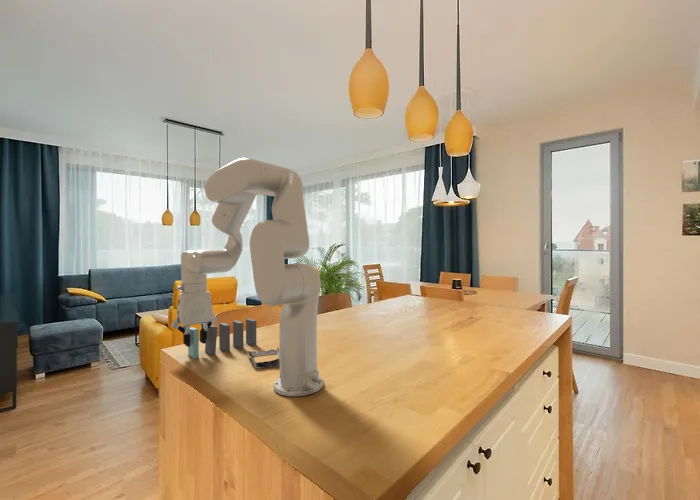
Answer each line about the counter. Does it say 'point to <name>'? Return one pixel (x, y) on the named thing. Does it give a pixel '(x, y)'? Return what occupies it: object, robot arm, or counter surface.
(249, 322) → the domino
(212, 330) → the domino
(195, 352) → the teal domino
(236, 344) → the domino
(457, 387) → the counter surface
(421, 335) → the counter surface
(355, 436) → the counter surface
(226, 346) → the domino
